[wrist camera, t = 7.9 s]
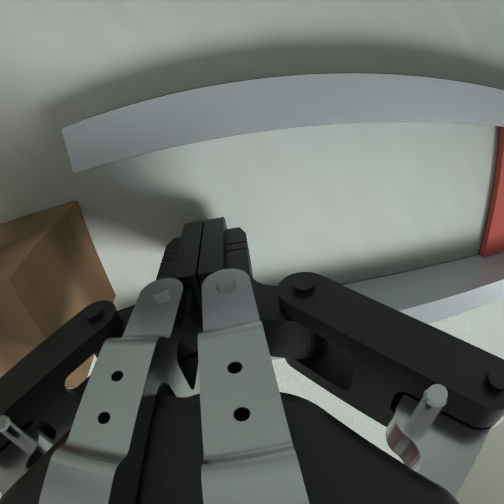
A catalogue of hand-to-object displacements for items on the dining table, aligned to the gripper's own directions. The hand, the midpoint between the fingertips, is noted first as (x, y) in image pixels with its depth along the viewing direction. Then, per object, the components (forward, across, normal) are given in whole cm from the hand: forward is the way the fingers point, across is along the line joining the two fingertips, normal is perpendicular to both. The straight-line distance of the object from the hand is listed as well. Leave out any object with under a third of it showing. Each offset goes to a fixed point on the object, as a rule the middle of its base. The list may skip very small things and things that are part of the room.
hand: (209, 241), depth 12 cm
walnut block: (+1, +8, 0) cm, 8 cm away
